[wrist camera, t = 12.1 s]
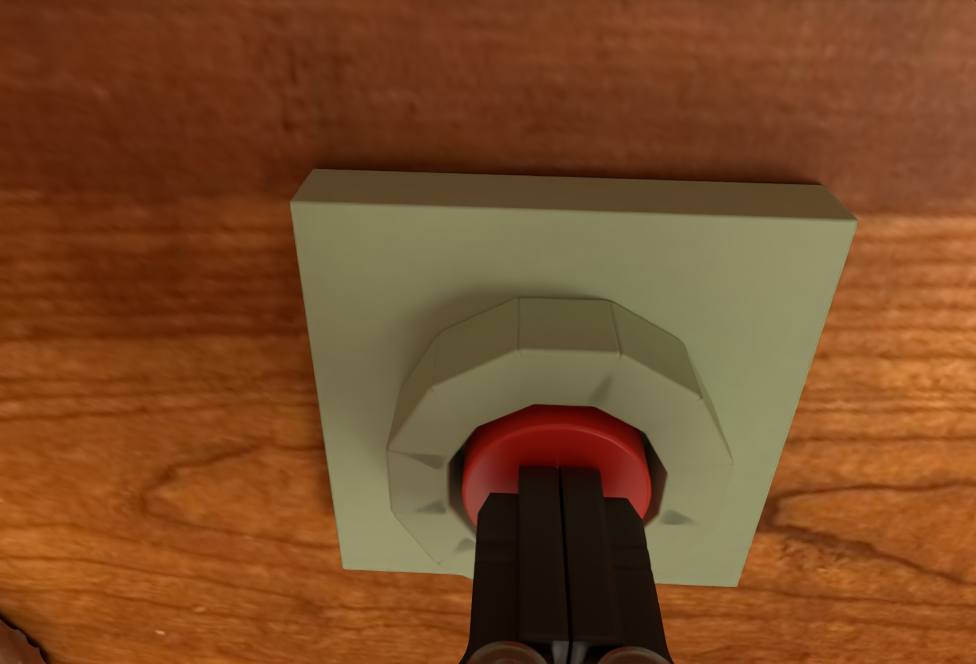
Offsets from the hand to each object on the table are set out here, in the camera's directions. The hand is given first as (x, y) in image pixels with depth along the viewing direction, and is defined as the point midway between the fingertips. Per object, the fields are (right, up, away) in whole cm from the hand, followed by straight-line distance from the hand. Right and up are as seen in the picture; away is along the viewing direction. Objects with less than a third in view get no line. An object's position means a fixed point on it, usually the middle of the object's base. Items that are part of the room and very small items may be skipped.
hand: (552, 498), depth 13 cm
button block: (0, +2, +3) cm, 4 cm away
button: (0, +1, +1) cm, 2 cm away
